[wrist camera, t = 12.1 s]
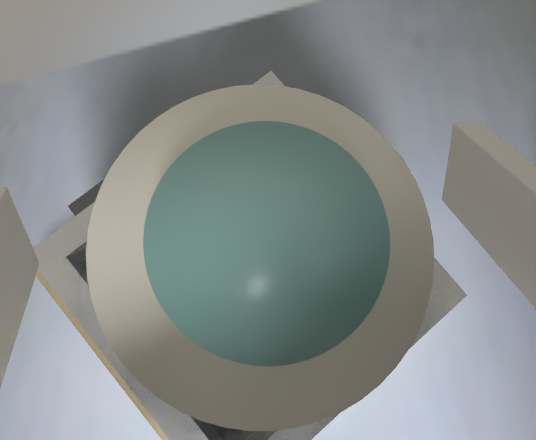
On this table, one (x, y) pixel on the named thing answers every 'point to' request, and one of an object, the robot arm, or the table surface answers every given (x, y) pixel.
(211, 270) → the cream bottle
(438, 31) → the table surface
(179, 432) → the grey open box
